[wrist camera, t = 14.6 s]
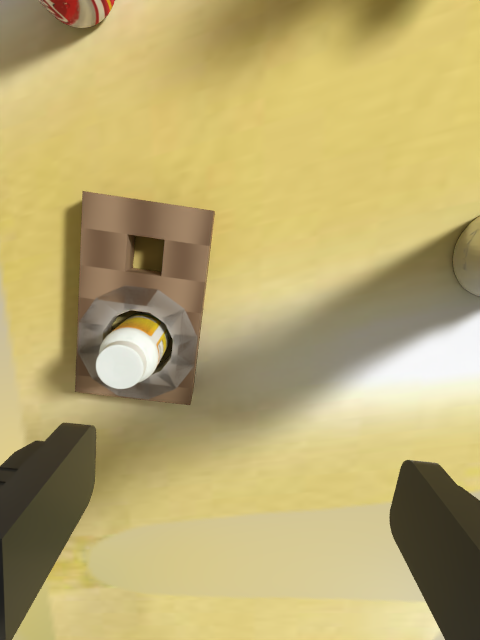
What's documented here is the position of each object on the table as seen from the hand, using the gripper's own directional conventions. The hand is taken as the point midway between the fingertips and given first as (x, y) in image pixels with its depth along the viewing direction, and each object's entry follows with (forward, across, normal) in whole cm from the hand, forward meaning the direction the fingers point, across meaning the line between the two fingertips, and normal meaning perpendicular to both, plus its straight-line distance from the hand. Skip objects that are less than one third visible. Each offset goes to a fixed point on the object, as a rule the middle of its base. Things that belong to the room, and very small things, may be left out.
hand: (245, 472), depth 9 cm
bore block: (+30, +10, +2) cm, 31 cm away
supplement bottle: (+30, +10, +6) cm, 32 cm away
